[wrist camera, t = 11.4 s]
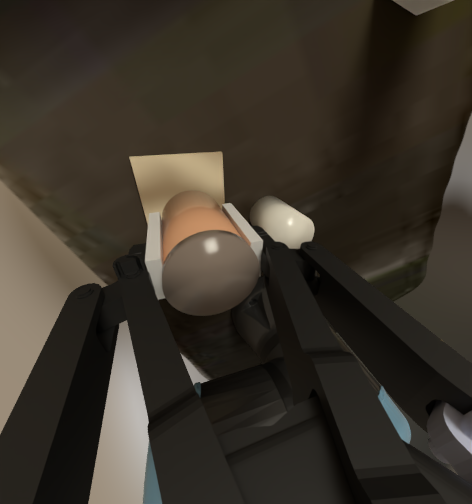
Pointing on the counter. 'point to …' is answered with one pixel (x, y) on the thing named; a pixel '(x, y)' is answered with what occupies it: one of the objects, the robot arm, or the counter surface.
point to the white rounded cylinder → (282, 222)
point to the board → (177, 177)
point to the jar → (204, 257)
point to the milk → (420, 5)
